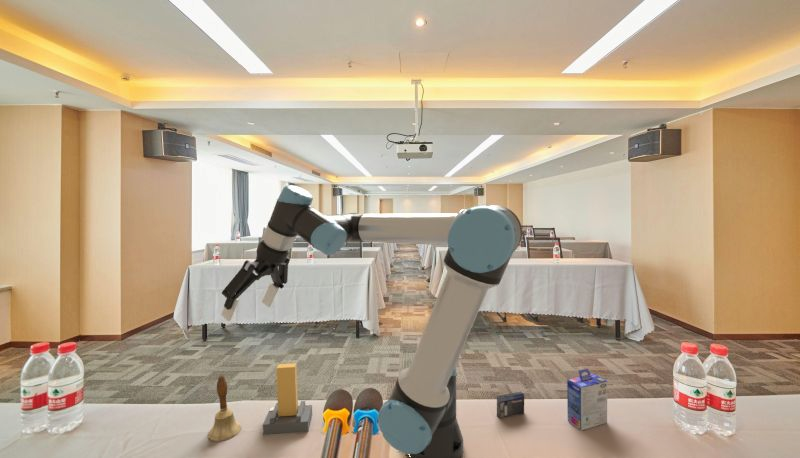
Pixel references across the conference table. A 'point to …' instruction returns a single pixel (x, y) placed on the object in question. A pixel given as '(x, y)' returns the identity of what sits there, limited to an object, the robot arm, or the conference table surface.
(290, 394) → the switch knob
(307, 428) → the stepped grey plinth
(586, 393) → the ink cartridge box
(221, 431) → the hand bell
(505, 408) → the mini dv tape
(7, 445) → the conference table surface
